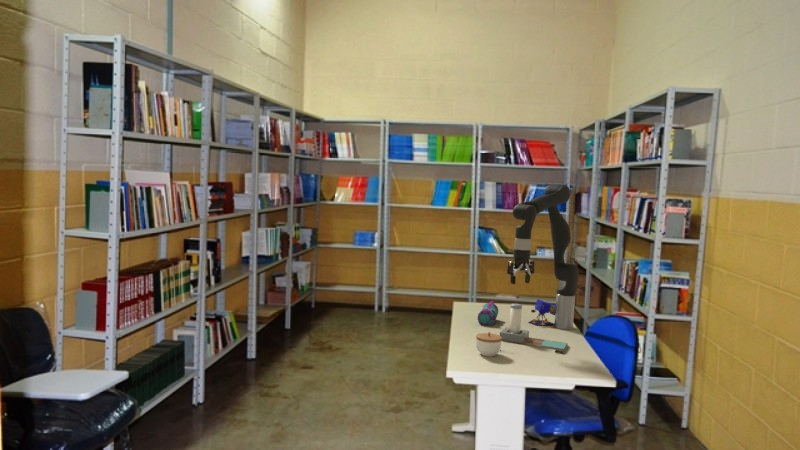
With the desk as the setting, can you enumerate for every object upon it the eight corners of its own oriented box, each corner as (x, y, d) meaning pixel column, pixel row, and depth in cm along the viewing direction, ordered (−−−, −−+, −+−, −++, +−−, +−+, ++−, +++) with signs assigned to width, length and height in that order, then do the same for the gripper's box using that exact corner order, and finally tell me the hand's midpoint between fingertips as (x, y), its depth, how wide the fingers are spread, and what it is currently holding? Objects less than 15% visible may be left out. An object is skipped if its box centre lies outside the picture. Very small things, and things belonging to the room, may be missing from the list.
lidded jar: (506, 356, 239) (507, 334, 239) (485, 359, 234) (487, 337, 233) (489, 349, 249) (491, 328, 248) (470, 352, 243) (471, 330, 243)
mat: (544, 340, 262) (544, 340, 262) (567, 344, 258) (567, 343, 258) (540, 346, 253) (540, 345, 253) (563, 349, 249) (563, 349, 249)
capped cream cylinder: (510, 336, 266) (512, 303, 265) (521, 338, 264) (523, 304, 263) (507, 339, 262) (509, 305, 260) (518, 341, 259) (520, 306, 258)
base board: (503, 335, 272) (503, 333, 272) (567, 345, 260) (567, 343, 260) (495, 342, 260) (495, 340, 259) (562, 353, 247) (562, 351, 247)
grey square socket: (505, 334, 270) (505, 326, 270) (528, 338, 266) (529, 330, 265) (499, 339, 260) (499, 331, 260) (523, 343, 256) (524, 335, 255)
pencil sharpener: (566, 329, 292) (567, 304, 291) (530, 327, 293) (532, 302, 292) (559, 322, 306) (561, 299, 305) (525, 320, 307) (527, 297, 306)
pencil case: (494, 329, 285) (495, 310, 284) (476, 327, 287) (478, 308, 286) (498, 319, 305) (499, 302, 304) (481, 318, 307) (482, 300, 306)
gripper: (528, 247, 266) (525, 281, 268) (504, 247, 259) (502, 282, 260) (539, 249, 260) (537, 284, 261) (516, 249, 253) (513, 285, 254)
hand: (520, 283), depth 261 cm, fingers open, 8 cm apart
